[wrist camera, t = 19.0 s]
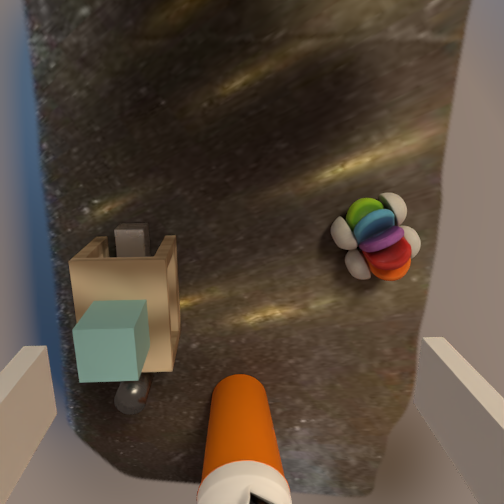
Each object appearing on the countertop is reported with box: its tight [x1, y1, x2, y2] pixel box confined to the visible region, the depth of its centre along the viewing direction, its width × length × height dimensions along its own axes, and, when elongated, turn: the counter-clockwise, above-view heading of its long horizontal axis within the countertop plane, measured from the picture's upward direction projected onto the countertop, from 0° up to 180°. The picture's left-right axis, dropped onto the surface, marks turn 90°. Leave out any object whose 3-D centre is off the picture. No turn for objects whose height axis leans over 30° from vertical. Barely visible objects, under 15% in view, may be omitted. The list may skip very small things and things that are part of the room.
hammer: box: [114, 223, 155, 414], centre depth 46 cm, size 18×3×9 cm, turn 0°
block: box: [72, 300, 150, 383], centre depth 39 cm, size 5×5×6 cm
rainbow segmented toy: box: [331, 193, 421, 281], centre depth 47 cm, size 8×10×7 cm
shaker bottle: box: [197, 374, 292, 504], centre depth 46 cm, size 9×9×20 cm
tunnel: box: [68, 235, 181, 372], centre depth 46 cm, size 12×9×9 cm
